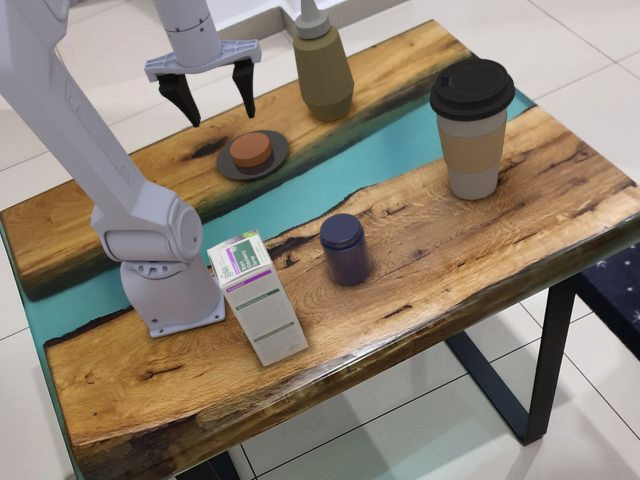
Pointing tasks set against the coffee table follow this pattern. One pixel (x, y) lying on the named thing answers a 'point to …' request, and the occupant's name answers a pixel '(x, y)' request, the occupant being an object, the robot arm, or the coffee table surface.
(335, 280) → the jar
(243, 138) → the jar lid
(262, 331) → the syrup box
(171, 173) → the coffee table surface
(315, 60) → the squeeze bottle
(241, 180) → the coaster
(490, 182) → the coffee cup
